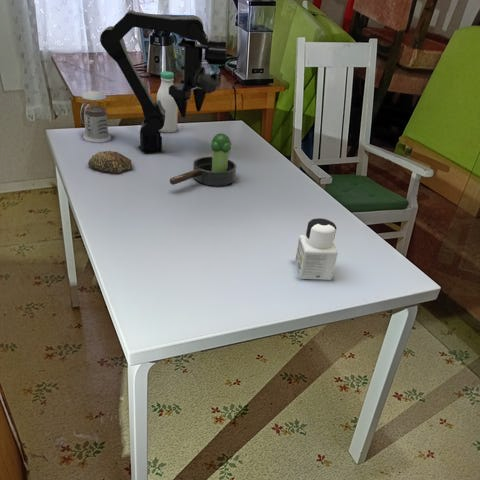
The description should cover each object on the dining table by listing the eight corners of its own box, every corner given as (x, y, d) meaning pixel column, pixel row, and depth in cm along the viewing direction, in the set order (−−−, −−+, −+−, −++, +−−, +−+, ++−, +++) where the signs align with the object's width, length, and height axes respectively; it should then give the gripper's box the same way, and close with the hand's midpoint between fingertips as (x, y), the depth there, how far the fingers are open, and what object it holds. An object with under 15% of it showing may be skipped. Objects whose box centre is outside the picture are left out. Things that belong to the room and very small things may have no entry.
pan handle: (199, 173, 160) (199, 167, 158) (203, 175, 159) (204, 169, 158) (168, 184, 151) (168, 177, 150) (172, 186, 150) (173, 179, 149)
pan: (205, 189, 158) (205, 175, 155) (186, 172, 166) (186, 158, 163) (242, 183, 163) (243, 170, 161) (222, 168, 172) (223, 154, 169)
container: (294, 262, 129) (303, 214, 121) (324, 263, 130) (335, 215, 122) (299, 279, 123) (309, 230, 115) (331, 280, 124) (343, 231, 116)
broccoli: (218, 184, 160) (221, 139, 151) (203, 177, 163) (205, 132, 155) (234, 180, 164) (238, 135, 155) (219, 172, 168) (222, 128, 159)
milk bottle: (180, 128, 199) (181, 72, 187) (171, 134, 193) (172, 76, 181) (162, 124, 200) (162, 68, 188) (153, 130, 195) (152, 72, 182)
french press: (117, 136, 186) (113, 60, 171) (96, 145, 177) (90, 66, 162) (94, 130, 189) (88, 54, 173) (73, 139, 180) (65, 60, 165)
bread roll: (82, 167, 162) (81, 151, 159) (108, 156, 171) (107, 140, 168) (116, 177, 158) (115, 161, 155) (140, 165, 167) (140, 150, 164)
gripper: (199, 72, 153) (197, 126, 163) (229, 63, 167) (226, 113, 176) (167, 65, 157) (167, 118, 166) (200, 56, 170) (198, 106, 180)
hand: (191, 114), depth 172 cm, fingers open, 9 cm apart
